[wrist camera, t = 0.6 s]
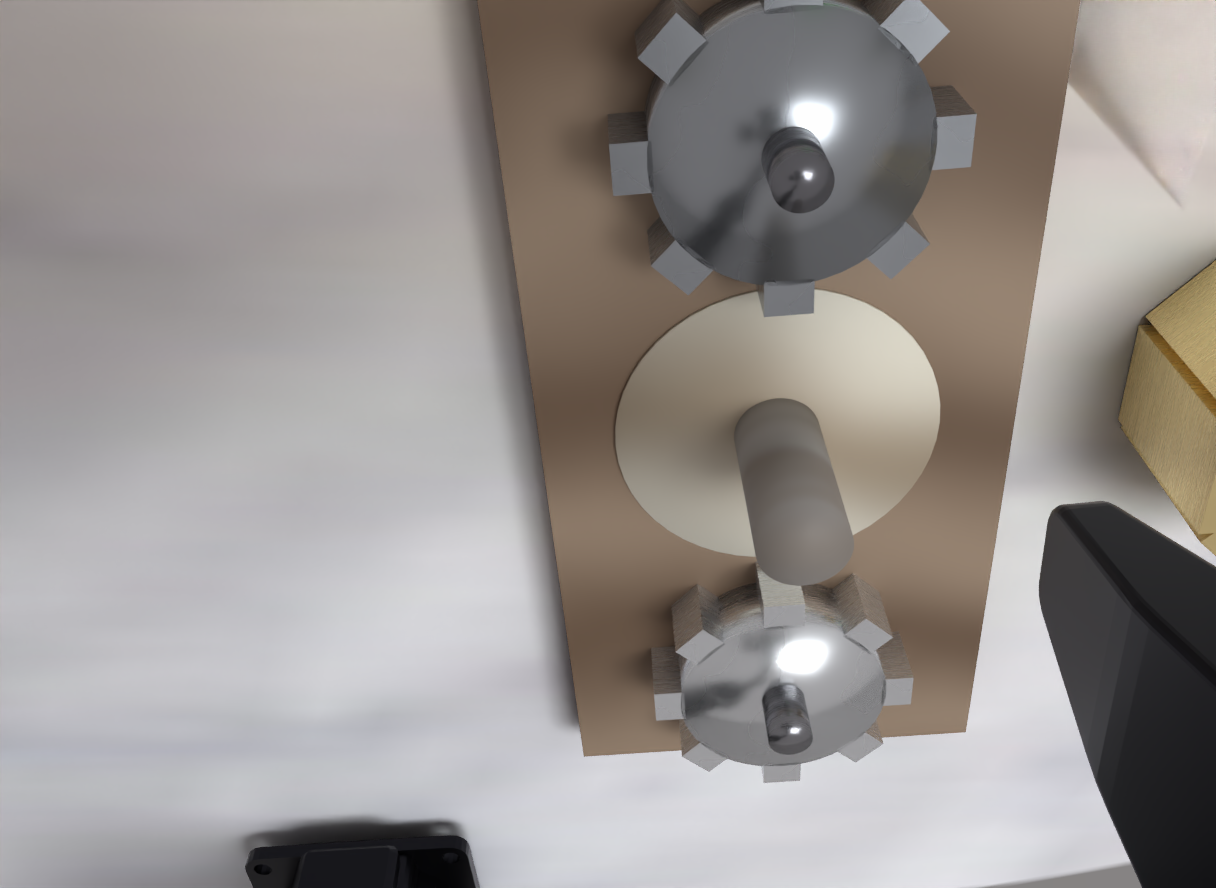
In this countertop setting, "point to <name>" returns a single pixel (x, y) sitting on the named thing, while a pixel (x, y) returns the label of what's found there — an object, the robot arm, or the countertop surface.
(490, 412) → the countertop surface
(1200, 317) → the tan hollow octagonal ring
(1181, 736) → the robot arm
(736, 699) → the gear
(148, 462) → the countertop surface
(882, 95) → the gear
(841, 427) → the gear board
